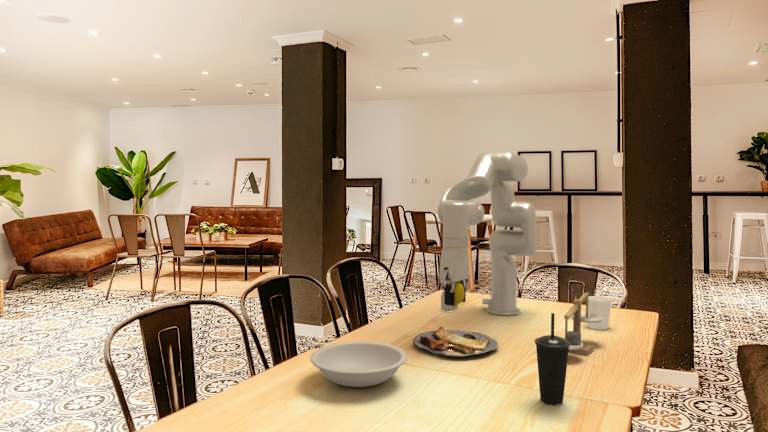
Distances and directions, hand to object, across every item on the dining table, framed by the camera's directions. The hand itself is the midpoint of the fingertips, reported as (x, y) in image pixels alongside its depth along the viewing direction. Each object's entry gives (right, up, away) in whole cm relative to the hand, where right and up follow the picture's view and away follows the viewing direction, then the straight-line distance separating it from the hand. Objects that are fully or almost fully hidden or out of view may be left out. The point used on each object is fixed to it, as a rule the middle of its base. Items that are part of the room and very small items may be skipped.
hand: (455, 302), depth 159 cm
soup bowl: (-28, -15, -27) cm, 42 cm away
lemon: (0, -1, 0) cm, 1 cm away
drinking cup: (+16, -16, -39) cm, 46 cm away
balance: (+35, -14, -3) cm, 38 cm away
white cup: (+52, -12, +22) cm, 58 cm away
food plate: (0, -14, +1) cm, 14 cm away
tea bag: (+4, -11, +47) cm, 49 cm away
